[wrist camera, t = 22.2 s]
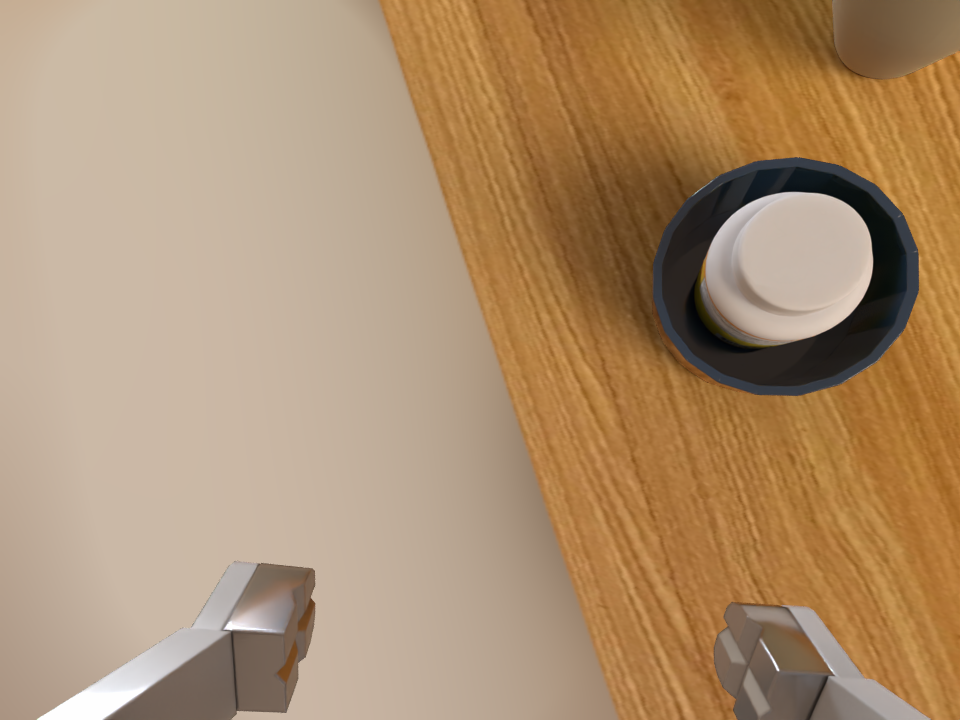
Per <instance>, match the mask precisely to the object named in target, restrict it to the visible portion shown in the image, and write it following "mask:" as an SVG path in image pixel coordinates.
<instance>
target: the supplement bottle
mask: <svg viewBox="0 0 960 720" xmlns="http://www.w3.org/2000/svg"><path fill="white" fill-rule="evenodd" d="M872 270H873V255H872V243H871V237H870V233H869V231H868V228H867V226H866V224H865V222H864V221H863V219H862V218H861V216H860V215H859V214H858V213H857V212H856V211H855V210H854V209H853V208H852V207H850V206H849V205H848V204H846V203H845V202H843V201H841V200H839V199H836V198H834V197H831V196H828V195H824V194H819V193H804V192H784V193H777V194H773V195H769V196H765V197H762V198H760V199H757V200H755V201H753V202H751V203H749V204H747V205H745V206H744V207H742V208H741V209H739V210H738V211H737V212H735V213H734V214H733V215H732V216H731V217H730V218H729V219H728V220H727V221H726V222H725V223H724V224H723V225H722V227H721V228H720V229H719V231H718V232H717V234H716V236H715V237H714V239H713V241H712V243H711V245H710V248H709V250H708V252H707V255H706V257H705V259H704V261H703V264H702V267H701V269H700V271H699V273H698V276H697V278H696V282H695V286H694V304H695V309H696V312H697V315H698V317H699V319H700V321H701V322H702V324H703V325H704V327H705V328H706V329H707V330H708V331H709V332H710V333H711V334H712V335H713V336H714V337H716V338H717V339H719V340H720V341H722V342H724V343H726V344H729V345H731V346H734V347H738V348H743V349H764V348H769V347H773V346H778V345H782V344H786V343H790V342H794V341H798V340H802V339H805V338H809V337H813V336H815V335H818V334H820V333H822V332H825V331H827V330H829V329H831V328H832V327H834V326H836V325H837V324H838V323H840V322H841V321H843V320H844V319H845V318H846V317H847V316H849V315H850V314H851V313H852V311H853V310H854V309H855V308H856V307H857V305H858V304H859V303H860V301H861V300H862V298H863V297H864V295H865V293H866V291H867V288H868V286H869V283H870V280H871V276H872Z"/></svg>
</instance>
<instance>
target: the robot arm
mask: <svg viewBox="0 0 960 720" xmlns="http://www.w3.org/2000/svg"><path fill="white" fill-rule="evenodd" d="M314 587H315V571H314V570H313V569H312V568H303V567H293V566H283V565H274V564H264V563H261V564H258V563H249V562H240V561H234V562H233V563H232V564H231V565H229V566H228V568H227V569H226V571H225V572H224V574H223V576H222V577H221V579H220V581H219V582H218V584H217V586H216V587H215V589H214V591H213V592H212V594H211V595H210V597H209V599H208V600H207V602H206V604H205V605H204V607H203V609H202V610H201V612H200V614H199V615H198V617H197V618H196V620H195V622H194V623H193V625H192V627H191V628H181V629H179V630H178V631H176V632H175V633H173V634H171V635H170V636H168V637H167V638H165V639H164V640H162V641H160V642H159V643H157V644H156V645H154V646H153V647H151V648H149V649H148V650H146V651H145V652H143V653H141V654H140V655H138V656H137V657H135V658H134V659H132V660H130V661H129V662H127V663H126V664H124V665H122V666H121V667H119V668H118V669H116V670H115V671H113V672H111V673H110V674H108V675H107V676H105V677H104V678H102V679H100V680H99V681H97V682H95V683H94V684H92V685H91V686H89V687H88V688H86V689H85V690H83V691H81V692H80V693H78V694H77V695H75V696H73V697H72V698H70V699H69V700H67V701H66V702H64V703H62V704H61V705H59V706H58V707H56V708H54V709H53V710H51V711H50V712H48V713H47V714H45V715H43V716H42V717H40V718H39V719H37V720H231V719H232V718H233V717H234V716H235V715H236V714H237V713H236V711H257V712H281V713H286V712H287V709H288V706H289V703H290V701H291V698H292V695H293V692H294V689H295V686H296V683H297V681H298V663H299V662H300V661H301V660H302V659H304V658H305V657H306V654H307V651H308V648H309V645H310V641H311V637H312V632H313V627H314V620H315V602H314V601H313V600H312V599H311V595H312V592H313V590H314ZM724 619H725V621H726V623H727V625H728V627H727V628H725V629H724V630H723V631H721V632H720V633H719V634H718V635H717V638H716V642H715V645H714V664H715V668H716V672H717V676H718V678H719V680H720V682H721V685H722V687H723V688H724V689H725V690H726V691H727V692H728V693H730V694H731V695H732V696H733V697H734V698H735V699H736V701H735V704H734V708H733V711H734V713H735V715H736V717H737V719H738V720H931V719H930V718H928V717H927V716H925V715H924V714H922V713H921V712H919V711H918V710H917V709H915V708H914V707H912V706H911V705H909V704H908V703H906V702H905V701H904V700H902V699H901V698H899V697H898V696H896V695H895V694H893V693H892V692H891V691H889V690H888V689H886V688H885V687H883V686H882V685H880V684H879V683H878V682H876V681H875V680H873V679H865V678H864V677H863V675H862V674H861V673H860V671H859V670H858V669H857V667H856V666H855V665H854V663H853V662H852V661H851V659H850V658H849V657H848V655H847V654H846V653H845V651H844V650H843V648H842V647H841V646H840V644H839V643H838V642H837V640H836V639H835V638H834V636H833V635H832V634H831V632H830V631H829V630H828V628H827V627H826V626H825V624H824V623H823V622H822V620H821V619H820V618H819V616H818V615H817V614H816V612H815V611H813V610H812V609H810V608H809V607H804V606H788V605H782V606H780V605H769V604H755V603H741V602H731V603H730V604H729V605H728V606H727V608H726V611H725V614H724Z"/></svg>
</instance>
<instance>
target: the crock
mask: <svg viewBox="0 0 960 720" xmlns="http://www.w3.org/2000/svg"><path fill="white" fill-rule="evenodd" d="M784 192H804V193H819V194H824V195H828V196H831V197H834V198H836V199H839V200H841V201H843V202H845V203H846V204H848V205H849V206H850V207H852V208H853V209H854V210H855V211H856V212H857V213H858V214H859V215H860V216H861V218H862V219H863V221H864V222H865V224H866V226H867V228H868V231H869V233H870V237H871V243H872V255H873V270H872V276H871V280H870V283H869V286H868V288H867V291H866V293H865V295H864V297H863V298H862V300H861V301H860V303H859V304H858V305H857V307H856V308H855V309H854V310H853V311H852V313H851V314H850V315H849V316H847V317H846V318H845V319H844V320H843V321H841V322H840V323H838V324H837V325H836V326H834V327H832V328H831V329H829V330H827V331H825V332H822V333H820V334H818V335H815V336H813V337H809V338H805V339H802V340H798V341H794V342H790V343H786V344H782V345H778V346H773V347H769V348H764V349H743V348H738V347H734V346H731V345H729V344H726V343H724V342H722V341H720V340H719V339H717V338H716V337H714V336H713V335H712V334H711V333H710V332H709V331H708V330H707V329H706V328H705V327H704V325H703V324H702V322H701V321H700V319H699V317H698V315H697V312H696V309H695V304H694V286H695V282H696V278H697V276H698V273H699V271H700V269H701V267H702V264H703V261H704V259H705V257H706V255H707V252H708V250H709V248H710V245H711V243H712V241H713V239H714V237H715V236H716V234H717V232H718V231H719V229H720V228H721V227H722V225H723V224H724V223H725V222H726V221H727V220H728V219H729V218H730V217H731V216H732V215H733V214H734V213H735V212H737V211H738V210H739V209H741V208H742V207H744V206H745V205H747V204H749V203H751V202H753V201H755V200H757V199H760V198H762V197H765V196H769V195H773V194H777V193H784ZM918 291H919V254H918V249H917V247H916V244H915V242H914V239H913V237H912V234H911V232H910V229H909V227H908V224H907V222H906V219H905V217H904V215H903V213H902V212H901V211H900V210H899V209H898V208H897V207H896V206H895V205H894V204H893V203H892V202H891V200H890V199H889V198H888V197H887V196H886V195H885V194H884V193H883V192H882V191H881V190H880V189H879V187H878V186H876V185H875V184H874V183H872V182H870V181H868V180H866V179H864V178H862V177H861V176H859V175H857V174H855V173H853V172H851V171H849V170H848V169H846V168H844V167H842V166H839V165H836V164H831V163H826V162H820V161H815V160H810V159H805V158H800V157H799V158H798V157H795V158H784V159H773V160H763V161H757V162H753V163H750V164H748V165H745V166H742V167H740V168H737V169H735V170H732V171H729V172H727V173H724V174H721V175H719V176H717V177H716V178H715V179H713V180H712V181H711V182H709V183H708V184H707V185H705V186H704V187H703V188H701V189H700V190H699V191H697V192H696V193H695V194H693V195H692V196H691V197H689V198H688V199H687V200H686V201H685V203H684V204H683V205H682V207H681V208H680V209H679V211H678V212H677V213H676V215H675V216H674V217H673V219H672V220H671V222H670V223H669V224H668V226H667V227H666V228H665V230H664V233H663V236H662V239H661V242H660V245H659V248H658V250H657V253H656V256H655V259H654V262H653V279H652V313H653V316H654V319H655V323H656V326H657V329H658V332H659V334H660V337H661V340H662V341H663V343H664V344H665V346H666V347H667V348H668V350H669V351H670V353H671V354H672V355H673V356H674V357H675V359H676V360H677V361H678V362H679V363H680V364H681V365H682V366H683V367H685V368H686V369H687V370H688V371H690V372H691V373H693V374H694V375H696V376H697V377H699V378H701V379H702V380H704V381H705V382H707V383H711V384H714V385H717V386H720V387H723V388H726V389H729V390H733V391H736V392H742V393H749V394H755V395H784V396H798V395H804V394H808V393H811V392H815V391H819V390H822V389H826V388H830V387H834V386H837V385H840V384H842V383H844V382H846V381H847V380H849V379H851V378H852V377H854V376H855V375H857V374H859V373H860V372H862V371H863V370H865V369H867V368H868V367H870V366H872V365H873V364H875V363H876V362H877V361H878V360H879V359H880V358H881V357H882V356H883V355H884V353H885V352H886V351H887V350H888V349H889V347H890V346H891V345H892V344H893V343H894V342H895V340H896V339H897V338H898V337H899V336H900V334H901V333H902V332H903V331H904V329H905V327H906V324H907V322H908V319H909V316H910V314H911V311H912V308H913V306H914V303H915V300H916V298H917V295H918Z"/></svg>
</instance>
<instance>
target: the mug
mask: <svg viewBox="0 0 960 720" xmlns="http://www.w3.org/2000/svg"><path fill="white" fill-rule="evenodd" d="M832 5H833V28H834V44H835V48H836V51H837V54H838V56H839V58H840V59H841V61H842V62H843V63H844V64H845V65H846V66H847V67H848V68H849V69H851V70H852V71H853V72H855V73H857V74H859V75H862V76H865V77H869V78H875V79H891V78H897V77H901V76H905V75H908V74H910V73H913V72H915V71H917V70H919V69H921V68H924V67H926V66H928V65H930V64H932V63H934V62H937V61H939V60H941V59H943V58H945V57H947V56H950V55H952V54H954V53H956V52H958V51H960V0H832Z"/></svg>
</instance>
